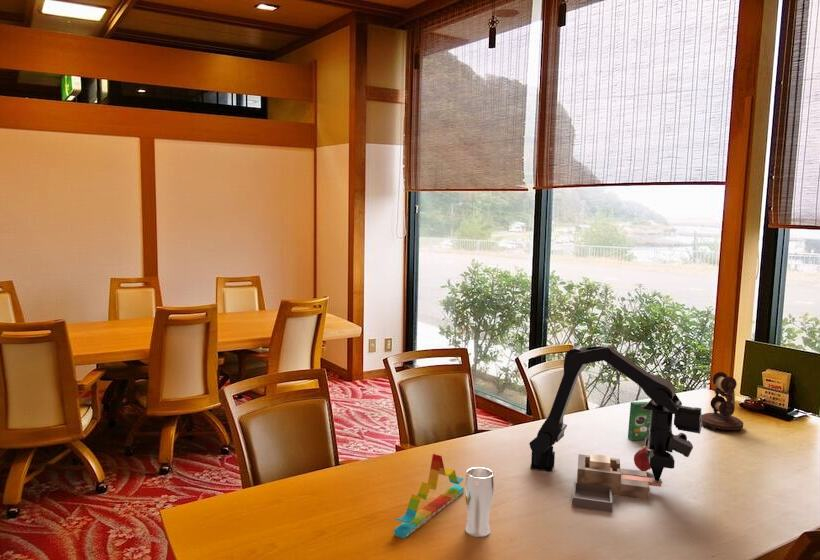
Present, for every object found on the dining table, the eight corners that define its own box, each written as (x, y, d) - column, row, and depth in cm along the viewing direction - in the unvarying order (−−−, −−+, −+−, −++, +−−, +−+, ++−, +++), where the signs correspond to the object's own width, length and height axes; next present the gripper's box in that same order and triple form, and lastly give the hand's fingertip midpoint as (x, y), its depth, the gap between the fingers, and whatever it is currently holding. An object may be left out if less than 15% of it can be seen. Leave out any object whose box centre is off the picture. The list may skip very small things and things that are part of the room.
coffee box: (647, 436, 229) (650, 400, 228) (652, 439, 226) (655, 403, 225) (627, 438, 227) (629, 401, 226) (631, 441, 225) (634, 404, 223)
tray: (572, 506, 174) (572, 497, 174) (573, 490, 184) (573, 482, 184) (611, 512, 171) (612, 503, 171) (610, 496, 181) (611, 487, 181)
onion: (654, 476, 195) (656, 450, 194) (634, 474, 196) (636, 449, 195) (651, 469, 201) (653, 444, 200) (631, 467, 202) (633, 442, 201)
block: (589, 475, 186) (590, 460, 185) (589, 468, 191) (590, 453, 191) (609, 478, 184) (610, 463, 184) (608, 471, 190) (609, 456, 189)
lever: (587, 480, 185) (587, 473, 185) (587, 470, 192) (587, 464, 192) (662, 489, 180) (663, 482, 180) (660, 480, 187) (660, 473, 186)
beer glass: (461, 524, 163) (463, 467, 161) (488, 523, 164) (491, 466, 162) (466, 538, 156) (468, 478, 154) (494, 537, 157) (497, 478, 155)
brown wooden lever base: (576, 490, 184) (577, 468, 183) (577, 474, 195) (578, 454, 194) (648, 500, 179) (650, 477, 178) (645, 483, 190) (646, 462, 189)
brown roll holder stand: (750, 434, 234) (755, 380, 232) (709, 433, 235) (713, 378, 232) (731, 420, 249) (735, 369, 247) (692, 419, 249) (696, 368, 247)
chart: (405, 540, 155) (406, 480, 154) (394, 536, 157) (395, 476, 155) (464, 494, 181) (465, 442, 179) (454, 491, 183) (455, 439, 181)
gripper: (696, 441, 171) (692, 497, 172) (687, 419, 188) (683, 470, 190) (651, 436, 174) (648, 492, 175) (646, 415, 191) (643, 465, 193)
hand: (656, 479), depth 183 cm, fingers closed
